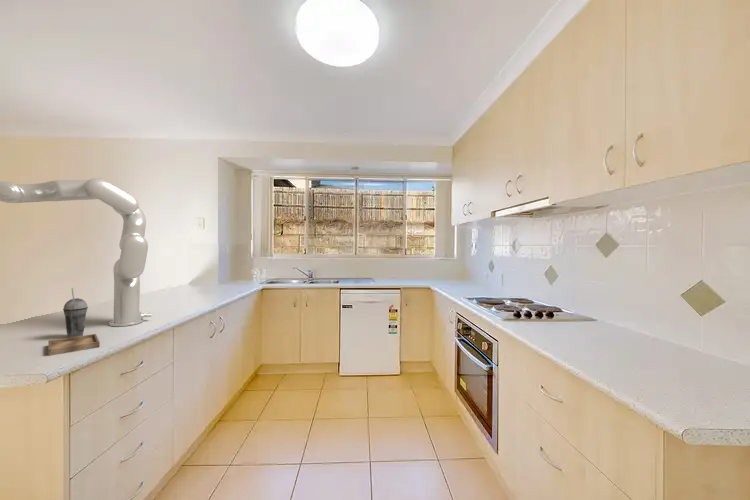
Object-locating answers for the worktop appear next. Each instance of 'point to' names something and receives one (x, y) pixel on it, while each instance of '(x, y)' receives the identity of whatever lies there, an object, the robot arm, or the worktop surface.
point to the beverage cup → (75, 316)
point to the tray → (72, 344)
